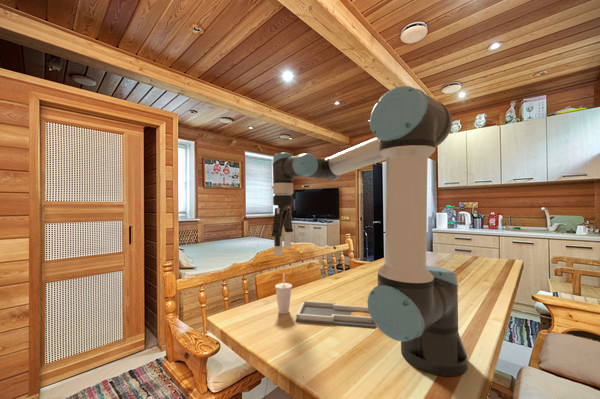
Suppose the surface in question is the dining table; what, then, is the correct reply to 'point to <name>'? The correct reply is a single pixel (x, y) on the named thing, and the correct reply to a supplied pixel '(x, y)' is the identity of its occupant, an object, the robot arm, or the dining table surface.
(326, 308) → the keyhole plate
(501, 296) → the dining table surface
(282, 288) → the smoothie
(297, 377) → the dining table surface
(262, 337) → the dining table surface
